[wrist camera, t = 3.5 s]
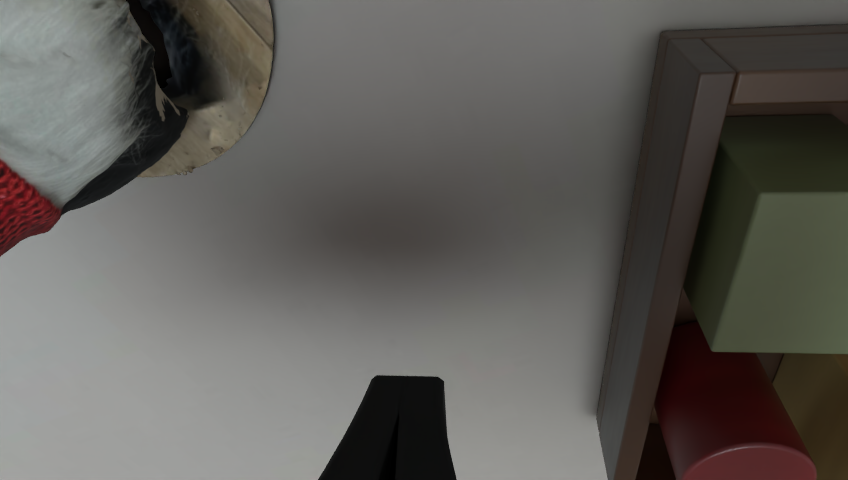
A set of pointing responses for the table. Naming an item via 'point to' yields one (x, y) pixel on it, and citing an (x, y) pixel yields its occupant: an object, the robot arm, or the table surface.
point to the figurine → (118, 98)
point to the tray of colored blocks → (735, 265)
